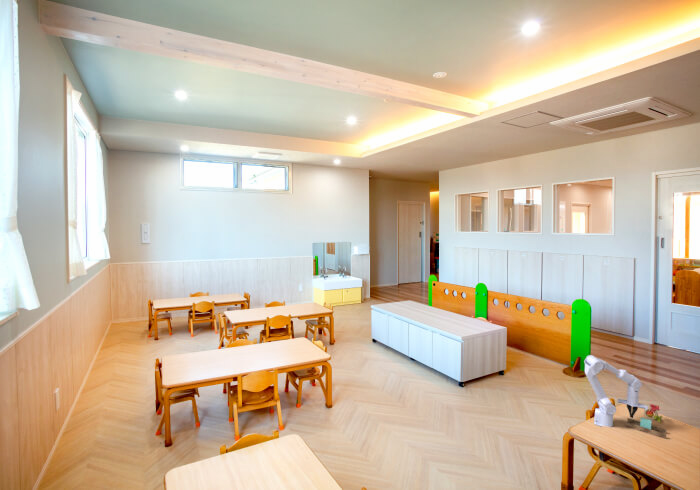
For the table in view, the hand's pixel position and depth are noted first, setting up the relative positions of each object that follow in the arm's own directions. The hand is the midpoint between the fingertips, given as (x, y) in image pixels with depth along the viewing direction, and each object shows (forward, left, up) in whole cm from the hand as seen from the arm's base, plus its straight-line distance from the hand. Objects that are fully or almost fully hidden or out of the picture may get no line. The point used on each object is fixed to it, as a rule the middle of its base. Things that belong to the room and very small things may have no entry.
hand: (631, 417), depth 223 cm
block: (+7, 0, -6) cm, 9 cm away
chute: (+7, 0, -6) cm, 10 cm away
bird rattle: (+10, +18, -7) cm, 22 cm away
